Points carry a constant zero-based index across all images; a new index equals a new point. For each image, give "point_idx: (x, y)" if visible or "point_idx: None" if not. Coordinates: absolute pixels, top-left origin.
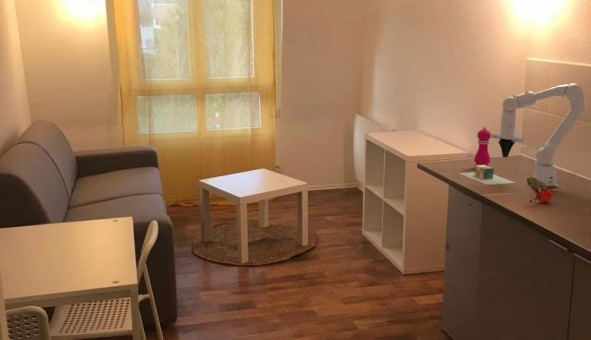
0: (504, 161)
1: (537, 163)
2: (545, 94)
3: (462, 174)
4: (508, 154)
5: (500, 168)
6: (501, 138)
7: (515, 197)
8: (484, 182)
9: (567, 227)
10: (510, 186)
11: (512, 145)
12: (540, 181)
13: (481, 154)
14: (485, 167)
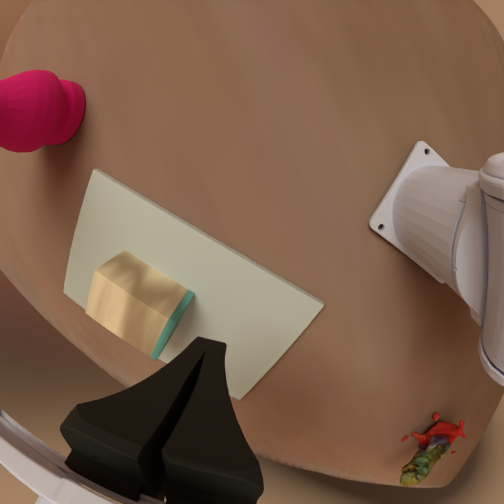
0: None
1: (470, 307)
2: None
3: (82, 305)
4: (224, 357)
5: (118, 26)
6: (81, 480)
7: (364, 437)
8: None
9: (445, 471)
10: (318, 353)
11: (241, 439)
12: (438, 460)
13: (7, 141)
14: (138, 331)
